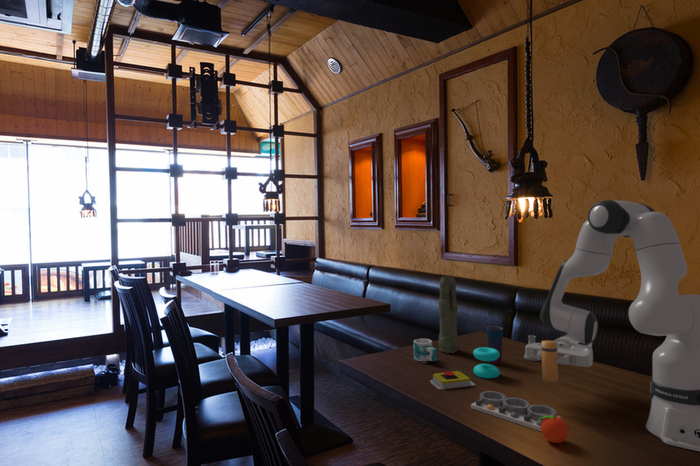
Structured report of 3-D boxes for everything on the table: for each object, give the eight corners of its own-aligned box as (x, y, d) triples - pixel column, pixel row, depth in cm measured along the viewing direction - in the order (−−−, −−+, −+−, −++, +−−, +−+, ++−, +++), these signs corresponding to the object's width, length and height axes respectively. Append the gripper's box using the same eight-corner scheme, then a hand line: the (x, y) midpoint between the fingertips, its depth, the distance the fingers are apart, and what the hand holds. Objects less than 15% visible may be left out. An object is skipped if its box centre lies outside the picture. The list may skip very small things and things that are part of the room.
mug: (425, 355, 198) (425, 337, 198) (441, 363, 187) (441, 344, 187) (410, 358, 195) (410, 339, 195) (426, 366, 184) (425, 346, 184)
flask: (542, 361, 187) (542, 338, 187) (525, 361, 188) (524, 338, 188) (539, 356, 194) (538, 334, 194) (521, 356, 195) (521, 333, 195)
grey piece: (560, 420, 132) (560, 410, 132) (545, 433, 124) (545, 422, 124) (487, 398, 149) (487, 389, 149) (470, 408, 142) (470, 398, 142)
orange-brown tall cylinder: (560, 379, 140) (559, 341, 140) (554, 383, 137) (553, 344, 137) (545, 376, 143) (544, 339, 143) (539, 379, 140) (538, 342, 140)
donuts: (503, 353, 167) (476, 353, 167) (503, 379, 167) (477, 379, 167) (495, 346, 177) (470, 346, 177) (495, 370, 177) (470, 370, 177)
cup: (505, 361, 188) (504, 327, 187) (501, 366, 182) (500, 330, 182) (489, 359, 191) (488, 325, 191) (484, 363, 186) (484, 328, 185)
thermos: (449, 355, 198) (448, 278, 197) (433, 349, 208) (432, 276, 208) (464, 352, 201) (463, 277, 201) (448, 346, 212) (447, 274, 211)
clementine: (537, 445, 118) (536, 419, 118) (535, 433, 124) (535, 408, 124) (570, 450, 115) (569, 423, 115) (567, 437, 122) (566, 412, 121)
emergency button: (428, 370, 167) (463, 367, 170) (428, 382, 167) (464, 378, 171) (438, 379, 158) (476, 375, 161) (439, 391, 158) (476, 386, 162)
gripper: (534, 336, 156) (516, 344, 147) (597, 346, 142) (582, 355, 132) (535, 354, 156) (517, 362, 147) (597, 365, 142) (582, 376, 132)
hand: (548, 359), depth 139 cm, fingers closed on orange-brown tall cylinder, 5 cm apart
